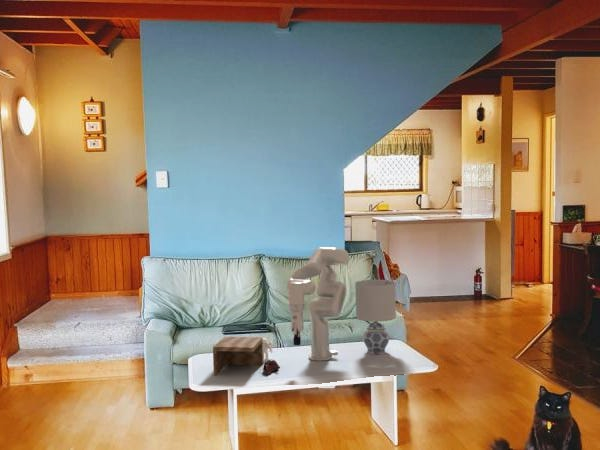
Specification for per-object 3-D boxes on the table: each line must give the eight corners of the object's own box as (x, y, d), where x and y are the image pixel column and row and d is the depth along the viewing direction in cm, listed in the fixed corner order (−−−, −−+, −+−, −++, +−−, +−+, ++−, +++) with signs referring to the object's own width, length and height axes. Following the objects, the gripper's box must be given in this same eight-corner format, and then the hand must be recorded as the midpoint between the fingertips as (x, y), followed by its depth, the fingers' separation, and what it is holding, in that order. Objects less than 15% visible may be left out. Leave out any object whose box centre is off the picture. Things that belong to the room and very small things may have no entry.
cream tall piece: (273, 357, 310) (272, 335, 309) (273, 359, 306) (273, 337, 305) (256, 358, 308) (255, 336, 308) (256, 360, 305) (255, 338, 304)
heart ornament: (272, 372, 293) (285, 363, 287) (258, 383, 283) (271, 374, 277) (265, 361, 294) (278, 352, 288) (251, 372, 284) (264, 363, 278)
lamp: (394, 358, 303) (393, 286, 301) (353, 356, 308) (352, 285, 306) (398, 347, 324) (397, 280, 322) (359, 346, 329) (358, 279, 327)
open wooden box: (263, 364, 298) (262, 337, 297) (254, 376, 278) (253, 347, 278) (225, 363, 301) (224, 336, 300) (213, 375, 281) (212, 346, 281)
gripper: (302, 310, 274) (302, 348, 275) (306, 304, 289) (306, 341, 290) (286, 309, 276) (286, 348, 276) (291, 304, 290) (292, 341, 291)
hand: (297, 344), depth 283 cm, fingers closed
